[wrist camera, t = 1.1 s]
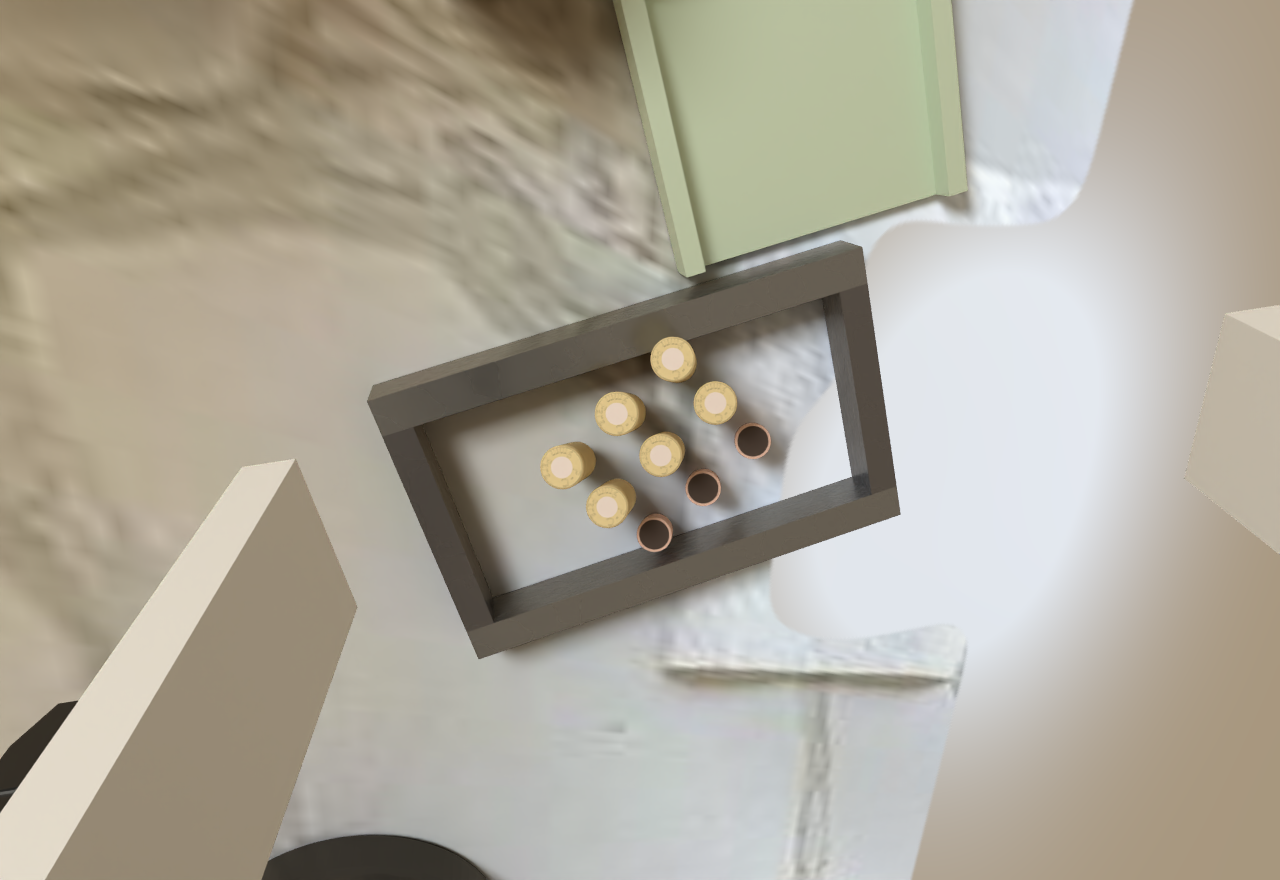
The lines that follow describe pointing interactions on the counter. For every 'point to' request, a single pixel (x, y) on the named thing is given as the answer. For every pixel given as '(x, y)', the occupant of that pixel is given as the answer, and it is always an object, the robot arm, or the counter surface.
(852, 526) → the gray rectangular frame
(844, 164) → the tray pad
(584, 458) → the ammunition
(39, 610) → the counter surface
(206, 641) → the robot arm
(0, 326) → the counter surface
